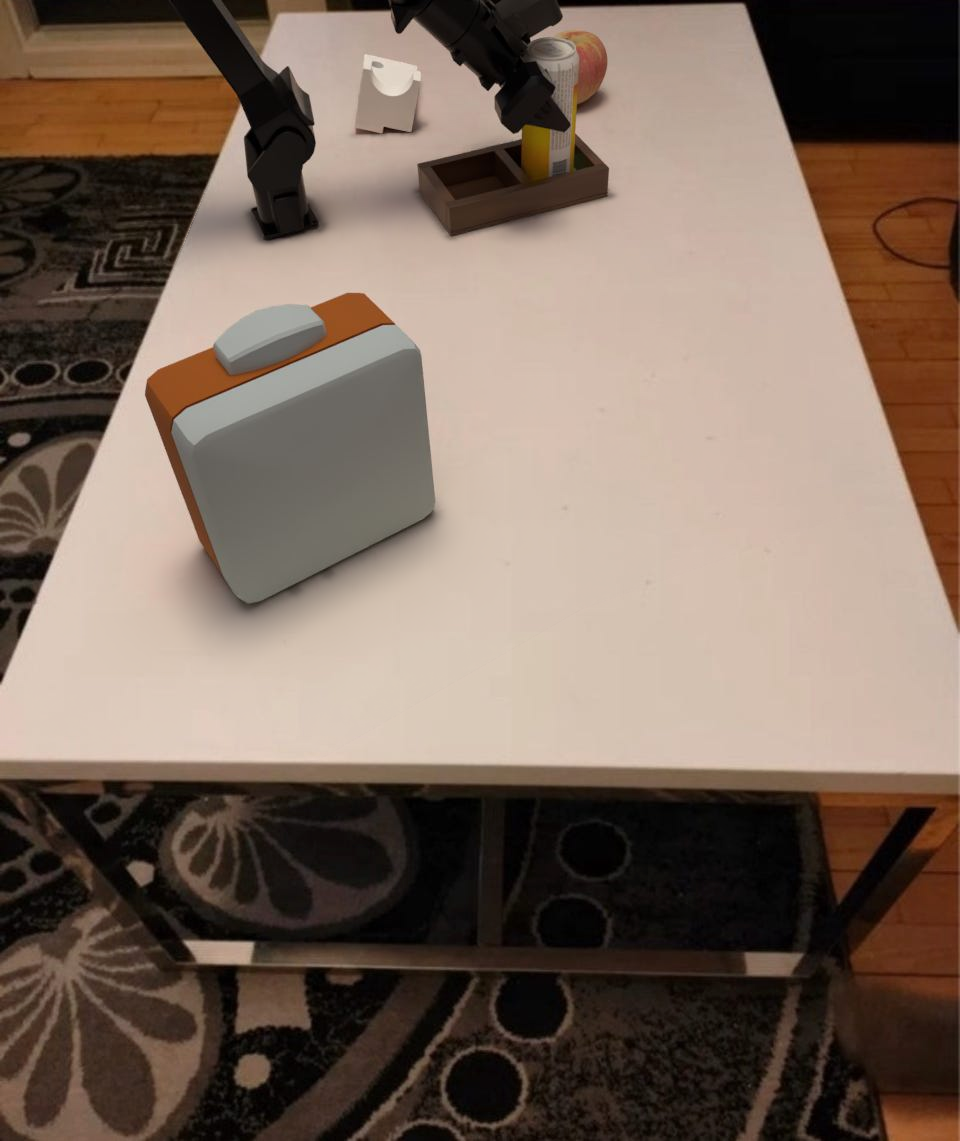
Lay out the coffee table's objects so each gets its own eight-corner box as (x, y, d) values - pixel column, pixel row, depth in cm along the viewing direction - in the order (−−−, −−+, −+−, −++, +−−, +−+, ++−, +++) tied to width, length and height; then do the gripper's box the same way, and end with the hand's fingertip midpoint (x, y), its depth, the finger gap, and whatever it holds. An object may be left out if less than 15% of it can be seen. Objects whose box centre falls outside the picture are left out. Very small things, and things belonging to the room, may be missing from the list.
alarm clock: (388, 456, 91) (360, 257, 75) (440, 514, 86) (422, 315, 71) (199, 545, 85) (125, 349, 69) (244, 613, 80) (176, 420, 64)
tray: (419, 191, 120) (417, 163, 117) (568, 155, 124) (570, 127, 121) (451, 236, 114) (449, 207, 111) (607, 196, 118) (609, 167, 115)
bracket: (409, 139, 130) (420, 81, 124) (354, 127, 128) (363, 68, 123) (412, 91, 138) (422, 35, 132) (360, 80, 136) (369, 22, 131)
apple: (615, 94, 134) (620, 31, 127) (579, 122, 129) (582, 58, 123) (560, 78, 137) (562, 15, 131) (523, 104, 132) (523, 41, 126)
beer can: (552, 160, 122) (557, 30, 110) (583, 182, 119) (591, 50, 107) (511, 176, 120) (511, 44, 108) (541, 198, 116) (544, 65, 105)
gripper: (536, -9, 94) (638, 96, 104) (495, -79, 106) (591, 21, 116) (456, 86, 99) (561, 177, 109) (426, 9, 111) (523, 98, 121)
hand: (560, 114), depth 113 cm, fingers closed on beer can, 6 cm apart
